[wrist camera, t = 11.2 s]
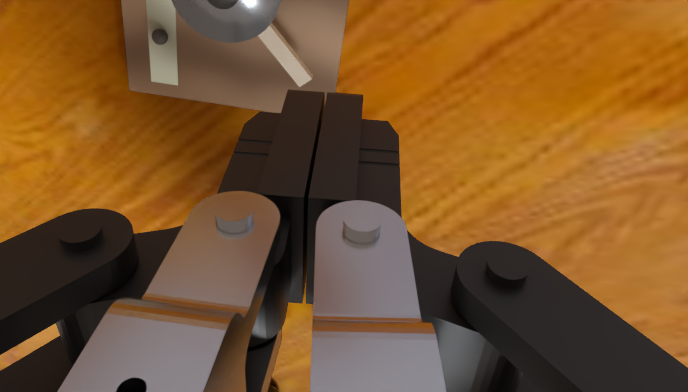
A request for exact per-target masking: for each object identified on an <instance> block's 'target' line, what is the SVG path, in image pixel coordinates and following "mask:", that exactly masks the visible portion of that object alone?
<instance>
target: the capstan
mask: <svg viewBox="0 0 688 392" xmlns="http://www.w3.org/2000/svg"><path fill="white" fill-rule="evenodd" d="M171 1H172V3H173V5H174V7H175V9H176V10H177V12H178V13H179V15H180V16H181V17H182V19H183V20H184V21H185V22H186V23H187V24H188V25H189V26H190V27H192V28H193V29H194V30H195V31H197V32H198V33H200V34H202V35H203V36H205V37H207V38H210V39H213V40H216V41H220V42H227V43H237V42H243V41H247V40H250V39H252V38H254V37H256V36H258V37H259V38H260V39H261V40H262V42H263V43H264V44H265V45H266V47H267V48H268V49H269V50H270V51H271V53H272V54H273V55H274V56H275V58H276V59H277V60H278V61H279V63H280V64H281V65H282V66H283V68H284V69H285V70H286V71H287V72H288V74H289V75H290V76H291V77H292V79H293V80H294V81H295V82H296V84H297V85H298V86H299V87H301V86H302V85H304V84H305V83H307V82H308V81H310V80H311V79H312V77H313V74H312V73H311V72H310V71H309V69H308V68H307V67H306V65H305V64H304V63H303V62H302V60H301V59H300V58H299V57H298V55H297V54H296V53H295V51H294V50H293V49H292V48H291V46H290V45H289V44H288V43H287V41H286V40H285V39H284V37H283V36H282V35H281V34H280V32H279V31H278V30H277V29H276V27H275V26H274V25H273V23H272V21H273V20H274V18H275V16H276V13H277V11H278V9H279V7H280V4H281V2H282V0H171Z"/></svg>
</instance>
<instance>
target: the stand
mask: <svg viewBox="0 0 688 392" xmlns="http://www.w3.org/2000/svg"><path fill="white" fill-rule="evenodd" d="M348 2H349V0H282V2H281V4H280V7H279V9H278V11H277V13H276V16H275V18H274V20H273V21H272V23H273V25H274V26H275V27H276V29H277V30H278V31H279V32H280V34H281V35H282V36H283V37H284V39H285V40H286V41H287V43H288V44H289V45H290V46H291V48H292V49H293V50H294V51H295V53H296V54H297V55H298V57H299V58H300V59H301V60H302V62H303V63H304V64H305V65H306V67H307V68H308V69H309V71H310V72H311V73H312V74H313V77H312V79H311V80H310V81H308V82H307V83H305V84H304V85H302V86H301V87H299V86H298V85H297V84H296V82H295V81H294V80H293V79H292V77H291V76H290V75H289V74H288V72H287V71H286V70H285V69H284V68H283V66H282V65H281V64H280V63H279V61H278V60H277V59H276V58H275V56H274V55H273V54H272V53H271V51H270V50H269V49H268V48H267V47H266V45H265V44H264V43H263V42H262V40H261V39H260V38H259V37H258V36H256V37H254V38H252V39H250V40H247V41H243V42H237V43H227V42H220V41H216V40H213V39H210V38H207V37H205V36H203V35H202V34H200V33H198V32H197V31H195V30H194V29H193V28H192V27H190V26H189V25H188V24H187V23H186V22H185V21H184V20H183V19H182V17H181V16H180V15H179V13H178V12H177V10H176V9H175V7H174V5H173V3H172V1H171V0H121V5H122V16H123V27H124V38H125V49H126V60H127V71H128V82H129V90H130V91H136V92H143V93H149V94H156V95H162V96H169V97H175V98H182V99H188V100H195V101H201V102H208V103H214V104H221V105H227V106H234V107H240V108H247V109H253V110H260V111H266V112H273V113H281V111H282V107H283V104H284V101H285V98H286V94H287V91H288V89H291V90H304V91H317V92H325V102H326V96H327V92H332V93H335V91H336V84H337V77H338V70H339V64H340V57H341V50H342V43H343V36H344V29H345V23H346V16H347V9H348Z"/></svg>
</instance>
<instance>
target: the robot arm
mask: <svg viewBox="0 0 688 392" xmlns="http://www.w3.org/2000/svg"><path fill="white" fill-rule="evenodd" d="M362 105H363V95H359V94H345V93H332V92H327V96H326V102H325V92H317V91H304V90H291V89H288V91H287V94H286V98H285V101H284V104H283V107H282V111H281V113H272V112H259V113H258V114H257V115H255V116H254V117H253V118H252V119H250V120H249V121H248V122H246V123H245V124H244V127H243V129H242V132H241V135H240V137H239V142H237V145H236V147H235V150H234V155H232V157H231V160H230V162H229V165H228V168H227V170H226V173H225V175H224V178H223V180H222V183H221V185H220V188H219V190H218V193H217V194H215V195H213V196H210V197H208V198H206V199H204V200H203V201H201V202H200V203H198V204H197V205H196V206H195V207H194V208H193V210H192V211H191V212H190V214H189V216H188V218H187V220H186V221H185V223H184V225H182V226H179V227H175V228H170V229H165V230H158V231H151V232H144V233H137V234H134V233H133V228H132V225H131V223H130V221H129V220H128V219H127V218H126V217H125V216H123V215H122V214H120V213H118V212H115V211H112V210H108V209H82V210H77V211H73V212H69V213H66V214H64V215H61V216H59V217H56V218H54V219H52V220H50V221H48V222H45V223H43V224H41V225H39V226H37V227H35V228H32V229H30V230H28V231H26V232H24V233H21V234H19V235H17V236H15V237H13V238H11V239H8V240H6V241H4V242H2V243H0V355H1V354H3V353H4V352H6V351H8V350H10V349H11V348H13V347H15V346H17V345H18V344H20V343H22V342H23V341H25V340H27V339H29V338H30V337H32V336H34V335H36V334H37V333H39V332H41V331H43V330H44V329H46V328H48V327H50V326H51V325H53V324H55V323H56V325H57V328H58V330H59V333H60V336H59V337H57V338H55V339H54V340H52V341H50V342H49V343H47V344H45V345H43V346H42V347H40V348H38V349H37V350H35V351H33V352H32V353H30V354H28V355H27V356H25V357H23V358H22V359H20V360H18V361H16V362H15V363H13V364H11V365H10V366H8V367H6V368H5V369H3V370H1V371H0V392H267V391H268V388H269V384H270V381H271V377H272V373H273V370H274V366H275V363H276V359H277V355H278V352H279V348H280V345H281V340H282V326H283V324H284V321H285V318H286V312H287V307H288V302H291V303H302V302H303V295H304V289H305V282H306V276H307V282H306V304H313V325H312V354H311V382H310V392H688V368H687V367H686V366H684V365H683V364H682V363H680V362H679V361H678V360H676V359H675V358H674V357H672V356H671V355H670V354H668V353H667V352H666V351H664V350H663V349H662V348H660V347H659V346H658V345H656V344H655V343H654V342H652V341H651V340H650V339H648V338H647V337H646V336H644V335H643V334H642V333H640V332H639V331H638V330H636V329H635V328H634V327H632V326H631V325H630V324H628V323H627V322H626V321H624V320H623V319H622V318H620V317H619V316H618V315H616V314H615V313H613V312H612V311H611V310H609V309H608V308H607V307H605V306H604V305H603V304H601V303H600V302H599V301H597V300H596V299H595V298H593V297H592V296H591V295H589V294H588V293H587V292H585V291H584V290H583V289H581V288H580V287H579V286H577V285H576V284H575V283H573V282H572V281H571V280H569V279H568V278H567V277H565V276H564V275H563V274H561V273H560V272H559V271H557V270H556V269H555V268H553V267H552V266H551V265H549V264H548V263H547V262H545V261H544V260H543V259H541V258H540V257H539V256H537V255H536V254H534V253H533V252H531V251H529V250H527V249H525V248H523V247H520V246H518V245H514V244H511V243H506V242H500V241H487V242H481V243H477V244H474V245H471V246H470V247H468V248H466V249H465V250H464V251H463V252H462V253H461V254H460V256H459V257H457V256H453V255H450V254H447V253H444V252H441V251H438V250H435V249H433V248H430V247H428V246H426V245H424V244H423V243H421V242H420V241H418V240H417V239H416V238H414V237H413V236H412V235H411V234H410V233H409V232H408V230H407V228H406V225H405V223H404V221H403V219H402V216H401V192H400V167H399V164H400V162H399V135H398V134H397V133H396V131H395V130H394V129H393V128H392V126H391V125H390V124H389V122H388V121H379V120H366V119H362Z"/></svg>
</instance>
